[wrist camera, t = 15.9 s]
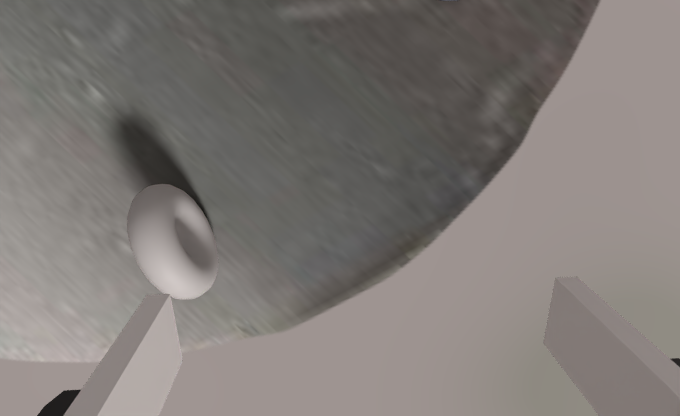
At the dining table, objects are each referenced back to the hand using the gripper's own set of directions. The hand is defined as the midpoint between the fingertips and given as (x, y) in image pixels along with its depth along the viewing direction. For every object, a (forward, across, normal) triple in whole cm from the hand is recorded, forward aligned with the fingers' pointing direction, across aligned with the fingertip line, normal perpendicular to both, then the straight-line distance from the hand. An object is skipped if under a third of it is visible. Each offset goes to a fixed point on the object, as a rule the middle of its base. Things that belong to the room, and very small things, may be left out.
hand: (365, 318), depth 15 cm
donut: (+26, -13, -7) cm, 30 cm away
